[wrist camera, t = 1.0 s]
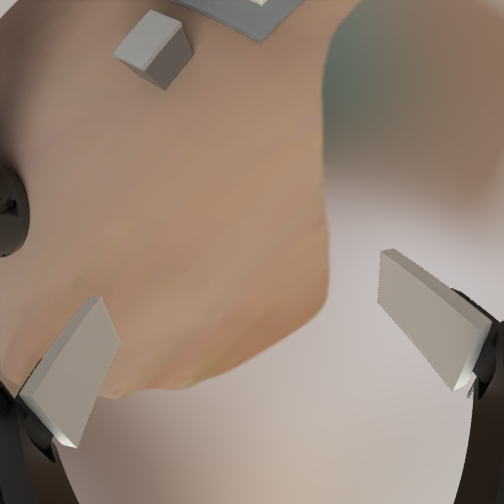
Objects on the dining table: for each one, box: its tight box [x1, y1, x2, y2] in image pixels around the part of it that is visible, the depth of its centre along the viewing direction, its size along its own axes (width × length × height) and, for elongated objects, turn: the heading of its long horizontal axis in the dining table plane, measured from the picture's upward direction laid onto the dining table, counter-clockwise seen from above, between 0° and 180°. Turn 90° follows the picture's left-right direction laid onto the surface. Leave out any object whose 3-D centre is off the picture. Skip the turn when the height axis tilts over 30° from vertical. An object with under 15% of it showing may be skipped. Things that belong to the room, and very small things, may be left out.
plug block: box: [112, 10, 194, 91], centre depth 23 cm, size 4×6×10 cm, turn 144°
